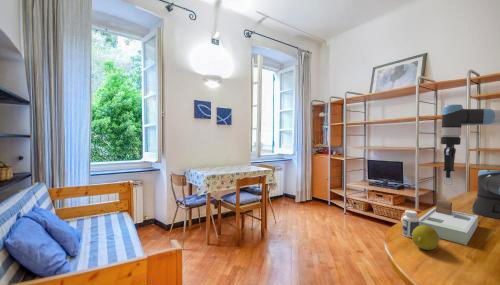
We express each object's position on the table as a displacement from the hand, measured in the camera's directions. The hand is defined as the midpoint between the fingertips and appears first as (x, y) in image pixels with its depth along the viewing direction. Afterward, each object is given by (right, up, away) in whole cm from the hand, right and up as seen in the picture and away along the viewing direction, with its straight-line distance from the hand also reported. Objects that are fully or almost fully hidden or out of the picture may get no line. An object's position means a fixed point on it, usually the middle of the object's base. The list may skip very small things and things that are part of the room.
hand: (448, 184), depth 120 cm
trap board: (-12, -17, -15) cm, 25 cm away
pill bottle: (-34, -17, -23) cm, 44 cm away
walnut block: (-6, -13, -5) cm, 15 cm away
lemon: (-35, -17, -33) cm, 52 cm away
